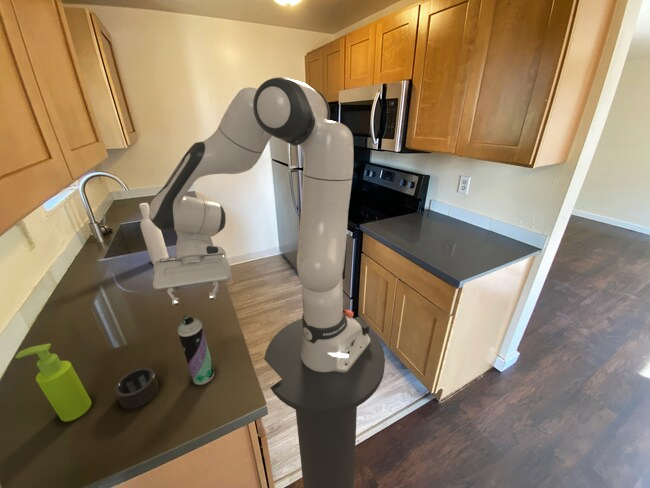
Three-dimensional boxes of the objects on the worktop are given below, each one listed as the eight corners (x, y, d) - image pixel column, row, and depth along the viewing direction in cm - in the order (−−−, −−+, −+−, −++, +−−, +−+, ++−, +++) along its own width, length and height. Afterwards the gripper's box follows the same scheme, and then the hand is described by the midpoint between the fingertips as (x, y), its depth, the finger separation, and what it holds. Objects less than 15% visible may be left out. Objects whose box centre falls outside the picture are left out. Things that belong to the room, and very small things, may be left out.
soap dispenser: (61, 404, 68) (23, 343, 60) (95, 395, 70) (62, 334, 62) (50, 427, 63) (7, 363, 55) (86, 416, 65) (50, 353, 57)
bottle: (153, 259, 142) (135, 202, 130) (170, 256, 144) (154, 200, 132) (150, 265, 135) (131, 206, 123) (168, 263, 138) (151, 204, 125)
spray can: (189, 385, 73) (170, 325, 64) (197, 368, 78) (180, 310, 69) (210, 384, 73) (193, 324, 65) (217, 367, 78) (202, 309, 70)
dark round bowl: (154, 374, 76) (149, 362, 74) (162, 394, 70) (157, 381, 69) (118, 392, 71) (112, 380, 69) (123, 416, 65) (117, 403, 63)
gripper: (149, 255, 75) (147, 306, 70) (227, 246, 79) (231, 293, 75) (158, 263, 81) (157, 310, 76) (231, 254, 85) (234, 298, 80)
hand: (194, 302), depth 75 cm, fingers open, 8 cm apart
